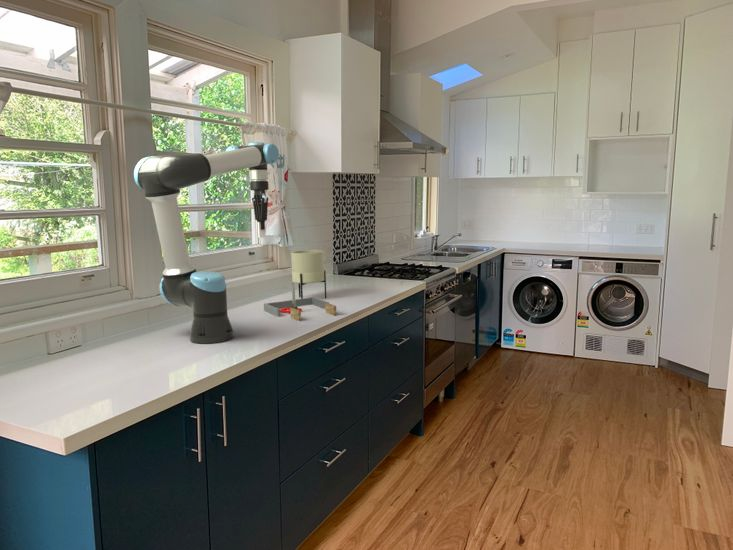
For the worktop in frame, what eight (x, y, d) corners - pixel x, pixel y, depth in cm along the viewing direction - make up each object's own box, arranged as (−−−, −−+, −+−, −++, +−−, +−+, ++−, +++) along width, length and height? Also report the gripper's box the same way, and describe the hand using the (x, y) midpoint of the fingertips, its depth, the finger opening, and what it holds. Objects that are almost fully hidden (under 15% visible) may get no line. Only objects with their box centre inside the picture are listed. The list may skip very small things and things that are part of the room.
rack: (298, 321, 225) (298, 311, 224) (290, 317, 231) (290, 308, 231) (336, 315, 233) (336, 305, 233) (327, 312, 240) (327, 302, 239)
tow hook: (276, 312, 245) (287, 314, 238) (274, 282, 244) (285, 284, 237) (292, 309, 251) (304, 311, 243) (290, 280, 249) (302, 281, 242)
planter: (287, 302, 266) (284, 253, 262) (301, 295, 280) (299, 249, 277) (316, 303, 261) (314, 253, 257) (329, 297, 275) (328, 250, 272)
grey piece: (278, 316, 234) (277, 309, 233) (264, 310, 247) (263, 303, 247) (329, 309, 246) (329, 302, 246) (313, 303, 260) (313, 297, 259)
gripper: (273, 180, 231) (276, 237, 234) (261, 181, 242) (264, 236, 245) (255, 180, 227) (259, 238, 231) (245, 181, 238) (248, 237, 242)
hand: (262, 237), depth 238 cm, fingers closed
